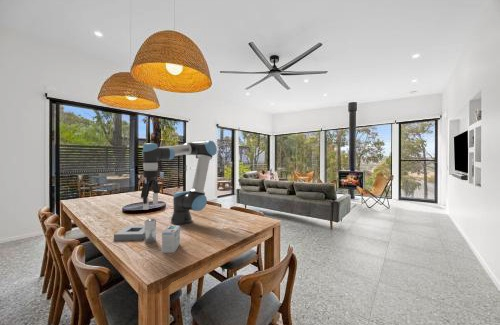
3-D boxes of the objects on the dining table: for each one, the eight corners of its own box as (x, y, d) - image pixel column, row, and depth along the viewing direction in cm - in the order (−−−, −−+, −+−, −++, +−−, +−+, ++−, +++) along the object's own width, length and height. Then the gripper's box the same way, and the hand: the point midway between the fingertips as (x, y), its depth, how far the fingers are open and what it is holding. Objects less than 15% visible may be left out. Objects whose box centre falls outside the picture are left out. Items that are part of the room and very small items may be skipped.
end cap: (157, 238, 123) (157, 218, 123) (153, 242, 117) (153, 221, 117) (147, 238, 123) (147, 218, 123) (142, 242, 117) (142, 221, 117)
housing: (153, 231, 137) (153, 225, 137) (142, 240, 121) (142, 234, 121) (128, 231, 136) (128, 225, 136) (113, 241, 120) (113, 234, 120)
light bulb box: (167, 244, 116) (168, 225, 116) (180, 244, 117) (180, 225, 117) (161, 253, 106) (161, 232, 106) (174, 252, 106) (175, 231, 106)
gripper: (152, 168, 132) (152, 201, 132) (133, 171, 107) (133, 212, 108) (164, 168, 132) (164, 201, 133) (148, 171, 108) (148, 212, 108)
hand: (150, 206), depth 120 cm, fingers open, 13 cm apart
